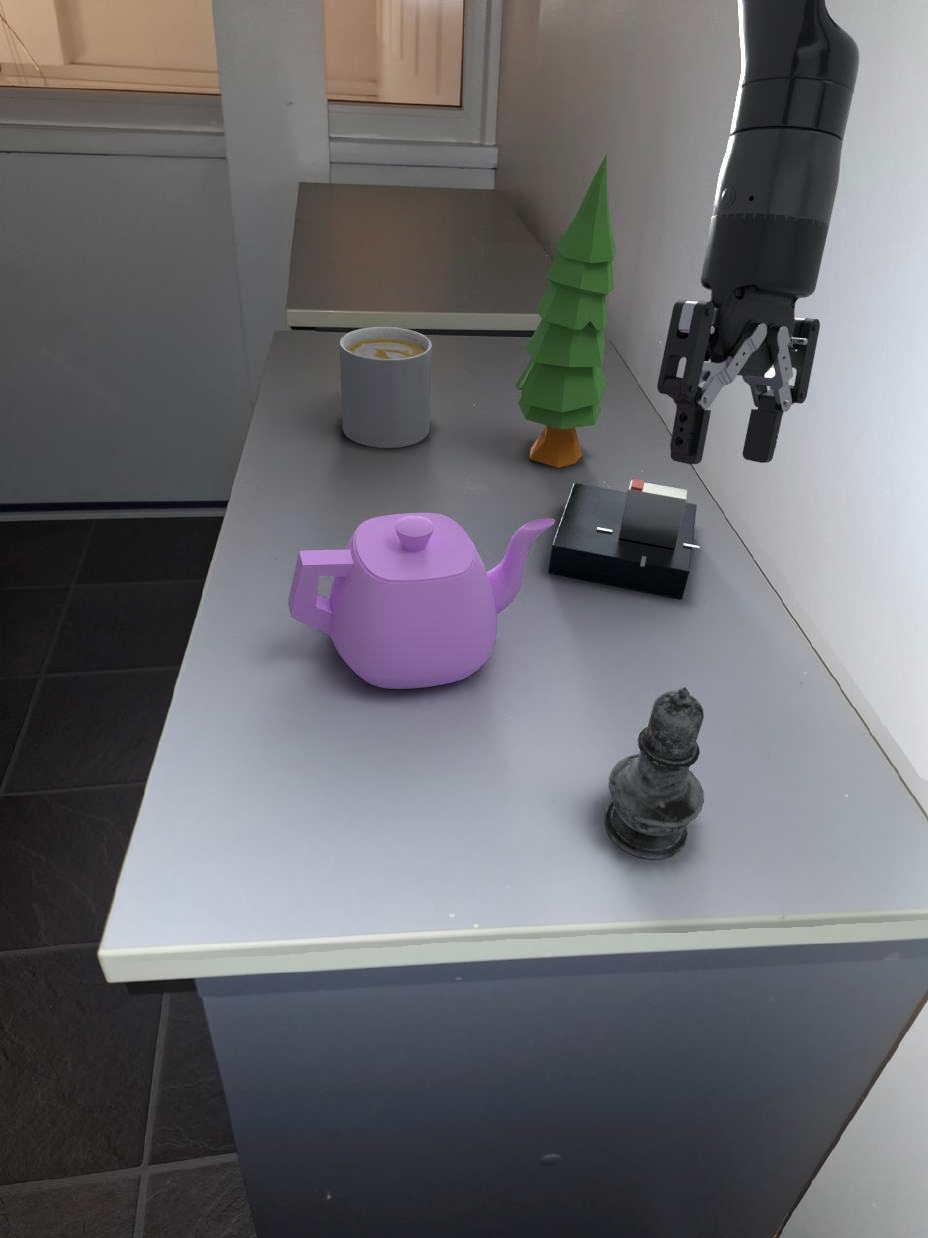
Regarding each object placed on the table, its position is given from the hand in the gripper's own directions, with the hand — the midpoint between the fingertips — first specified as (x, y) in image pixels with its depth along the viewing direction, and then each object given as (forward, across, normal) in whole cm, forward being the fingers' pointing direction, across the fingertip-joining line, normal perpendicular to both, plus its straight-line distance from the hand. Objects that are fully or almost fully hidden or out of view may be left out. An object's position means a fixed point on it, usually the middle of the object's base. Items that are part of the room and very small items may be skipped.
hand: (722, 461), depth 62 cm
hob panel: (+11, +8, +14) cm, 20 cm away
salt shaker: (+22, -13, -8) cm, 27 cm away
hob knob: (+9, +7, +11) cm, 16 cm away
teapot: (+17, -15, +14) cm, 27 cm away
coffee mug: (+4, +2, +48) cm, 48 cm away
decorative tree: (+5, +14, +32) cm, 35 cm away
